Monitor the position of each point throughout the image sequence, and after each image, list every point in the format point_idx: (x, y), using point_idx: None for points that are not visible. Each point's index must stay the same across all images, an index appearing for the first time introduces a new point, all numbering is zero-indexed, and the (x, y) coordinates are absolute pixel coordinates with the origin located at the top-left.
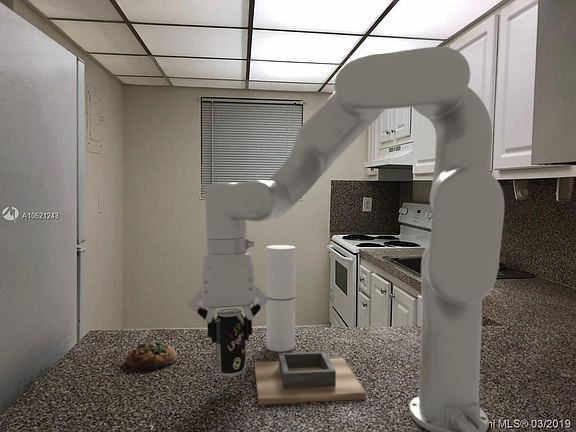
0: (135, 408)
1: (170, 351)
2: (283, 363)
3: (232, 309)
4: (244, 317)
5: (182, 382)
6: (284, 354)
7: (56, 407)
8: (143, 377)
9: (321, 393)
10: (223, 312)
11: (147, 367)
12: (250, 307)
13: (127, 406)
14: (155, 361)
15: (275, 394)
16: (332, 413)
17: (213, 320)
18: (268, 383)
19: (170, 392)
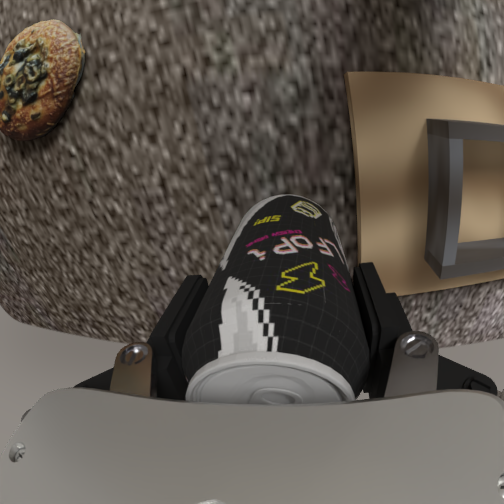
0: (106, 295)
1: (56, 62)
2: (453, 212)
3: (287, 392)
4: (373, 338)
5: (142, 183)
6: (464, 136)
7: (15, 283)
8: (53, 167)
9: (485, 276)
10: (224, 402)
11: (41, 136)
12: (434, 385)
13: (90, 288)
14: (44, 122)
15: (400, 283)
16: (475, 311)
17: (184, 395)
18: (392, 228)
19: (135, 236)
